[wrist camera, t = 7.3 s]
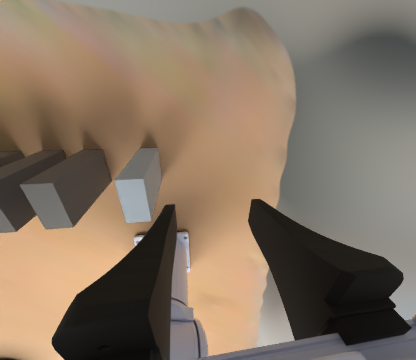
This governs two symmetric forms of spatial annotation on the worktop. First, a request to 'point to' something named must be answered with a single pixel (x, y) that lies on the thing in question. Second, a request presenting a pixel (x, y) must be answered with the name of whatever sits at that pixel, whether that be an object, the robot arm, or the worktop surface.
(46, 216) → the domino
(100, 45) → the worktop surface
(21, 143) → the worktop surface
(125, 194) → the domino
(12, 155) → the domino
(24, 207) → the domino
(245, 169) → the worktop surface
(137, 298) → the robot arm
